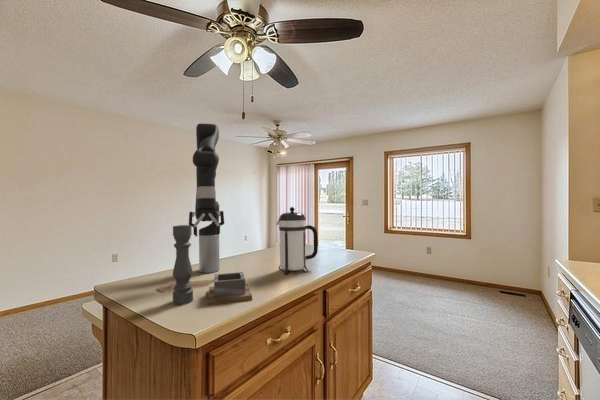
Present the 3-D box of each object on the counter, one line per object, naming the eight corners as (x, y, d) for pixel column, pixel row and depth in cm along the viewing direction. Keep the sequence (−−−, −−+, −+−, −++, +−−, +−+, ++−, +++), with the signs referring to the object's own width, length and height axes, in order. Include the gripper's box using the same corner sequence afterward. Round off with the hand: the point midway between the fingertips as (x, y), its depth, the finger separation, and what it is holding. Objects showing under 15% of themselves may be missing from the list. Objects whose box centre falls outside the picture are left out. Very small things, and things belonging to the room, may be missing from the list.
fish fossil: (221, 277, 121) (221, 275, 120) (229, 285, 112) (230, 282, 112) (155, 287, 106) (155, 284, 106) (159, 297, 98) (159, 293, 98)
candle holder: (168, 302, 90) (167, 226, 90) (184, 296, 95) (183, 224, 95) (181, 306, 87) (180, 227, 87) (197, 299, 92) (196, 225, 93)
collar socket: (209, 291, 101) (209, 273, 101) (247, 287, 105) (247, 270, 105) (207, 304, 88) (207, 284, 88) (252, 299, 92) (251, 280, 92)
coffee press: (300, 277, 118) (299, 207, 119) (270, 272, 126) (269, 207, 127) (318, 268, 133) (317, 206, 134) (290, 264, 142) (289, 206, 142)
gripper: (222, 198, 124) (223, 234, 123) (188, 198, 119) (189, 236, 118) (224, 197, 117) (224, 235, 116) (188, 197, 112) (188, 237, 111)
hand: (206, 235), depth 117 cm, fingers open, 8 cm apart
